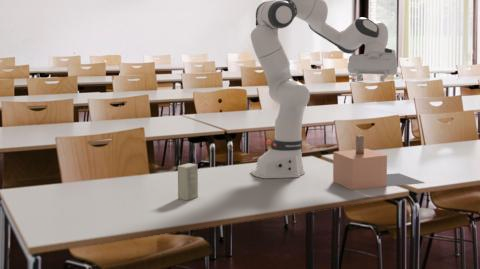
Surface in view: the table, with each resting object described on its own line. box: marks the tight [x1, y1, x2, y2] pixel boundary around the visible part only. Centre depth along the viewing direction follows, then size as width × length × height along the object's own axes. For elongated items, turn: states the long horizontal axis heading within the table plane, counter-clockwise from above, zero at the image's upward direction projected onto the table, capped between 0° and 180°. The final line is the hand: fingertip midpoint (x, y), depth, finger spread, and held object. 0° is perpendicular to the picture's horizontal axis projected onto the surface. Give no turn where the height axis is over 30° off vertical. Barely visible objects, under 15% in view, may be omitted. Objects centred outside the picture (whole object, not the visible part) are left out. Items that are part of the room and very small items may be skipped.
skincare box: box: [177, 162, 199, 201], centre depth 244 cm, size 6×4×12 cm
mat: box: [385, 172, 425, 188], centre depth 273 cm, size 18×18×1 cm
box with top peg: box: [332, 134, 388, 191], centre depth 265 cm, size 15×15×19 cm
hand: (370, 80), depth 276 cm, fingers open, 8 cm apart
